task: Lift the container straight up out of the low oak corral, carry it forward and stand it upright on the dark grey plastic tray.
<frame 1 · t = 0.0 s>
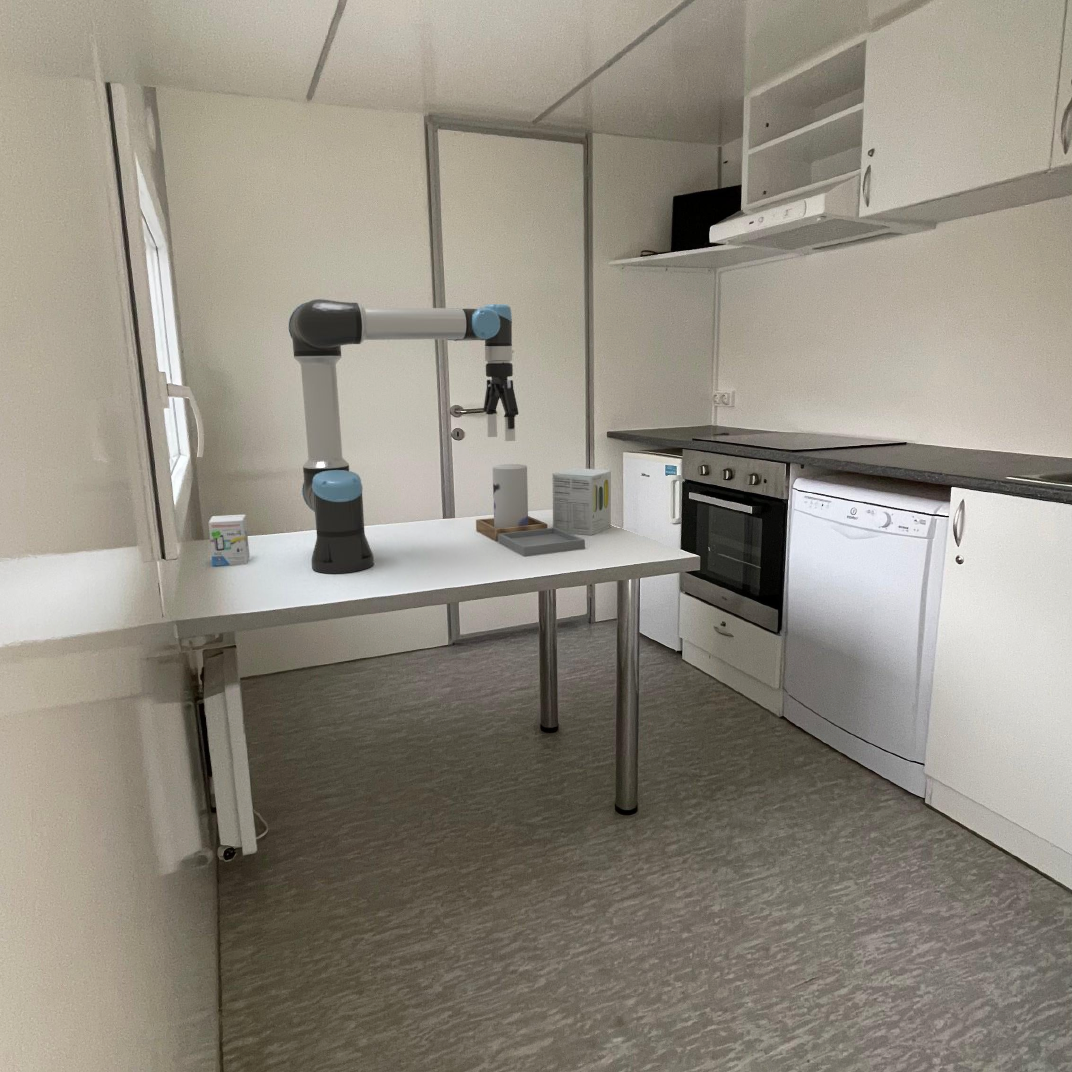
hand: (501, 438, 221), 28 cm above the table, fingers open, 13 cm apart
container: (511, 534, 229), resting in corral
corral: (511, 533, 229), on the table
tray: (540, 545, 214), on the table
ink box: (231, 562, 202), on the table
supplement box: (582, 530, 233), on the table
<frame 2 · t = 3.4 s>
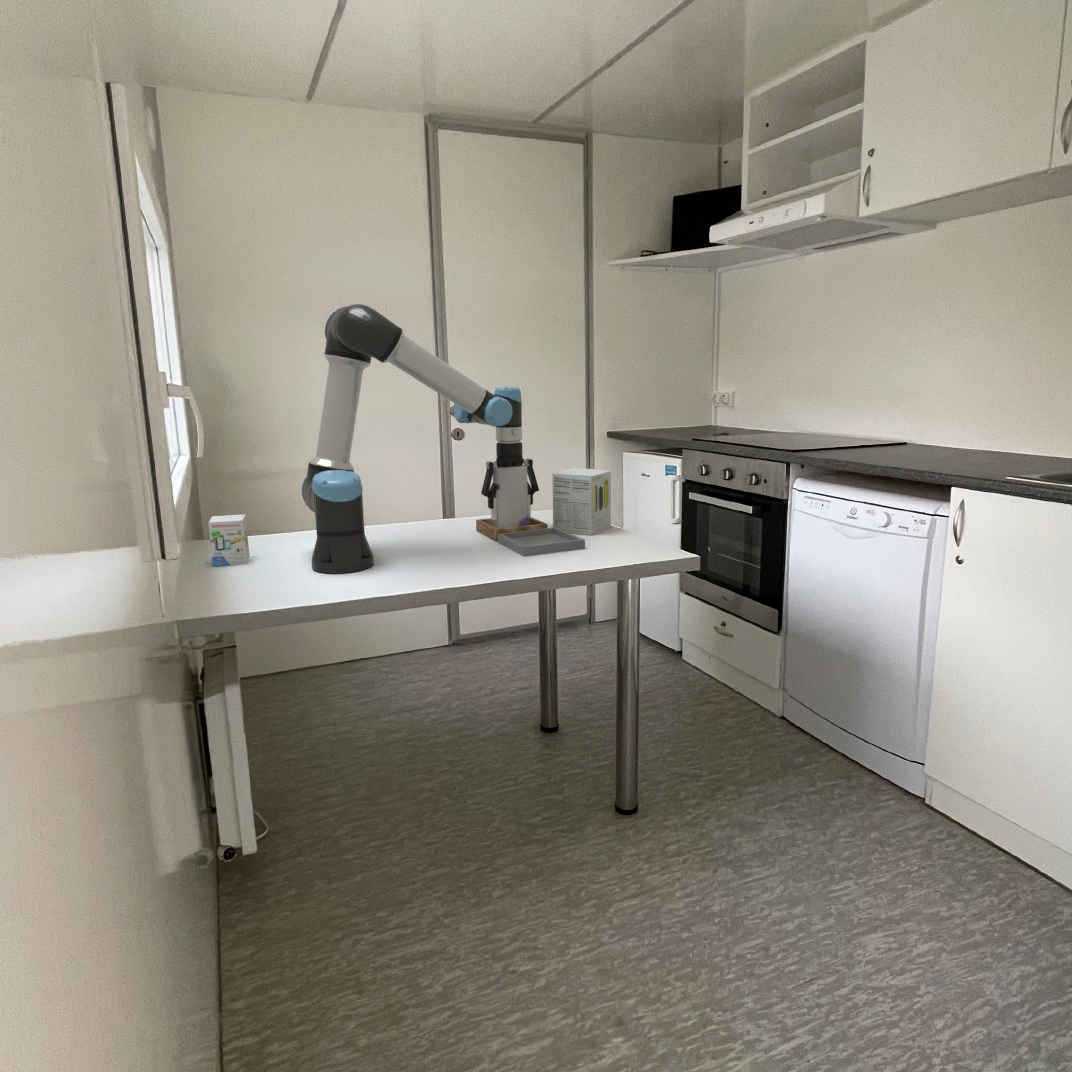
hand: (511, 517, 228), 5 cm above the table, fingers closed on container, 10 cm apart
container: (511, 534, 229), resting in corral, touching gripper
everything else where it was.
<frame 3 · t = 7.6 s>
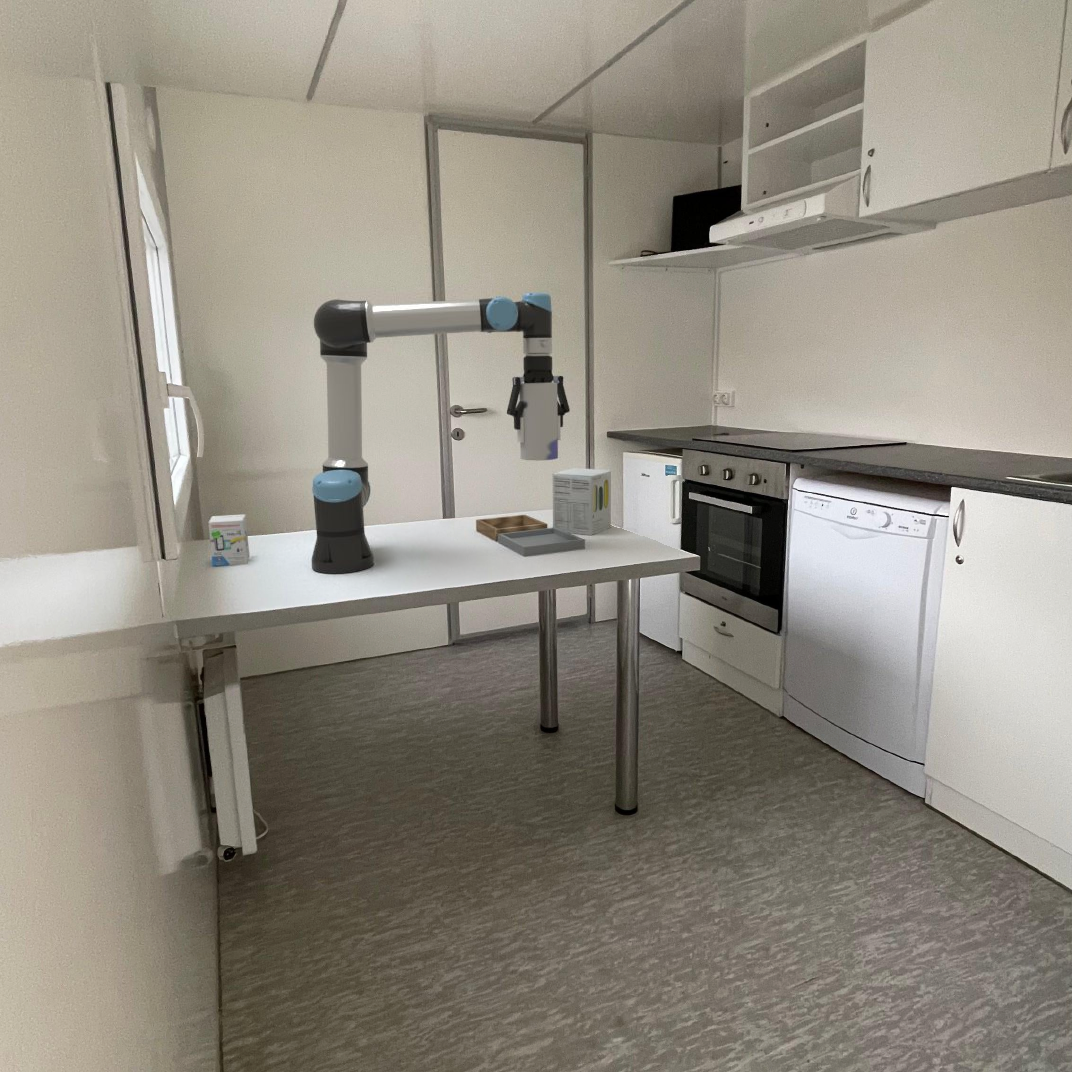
hand: (539, 440, 207), 29 cm above the table, fingers closed on container, 10 cm apart
container: (539, 459, 208), point 24 cm above the table, touching gripper
everything else where it was.
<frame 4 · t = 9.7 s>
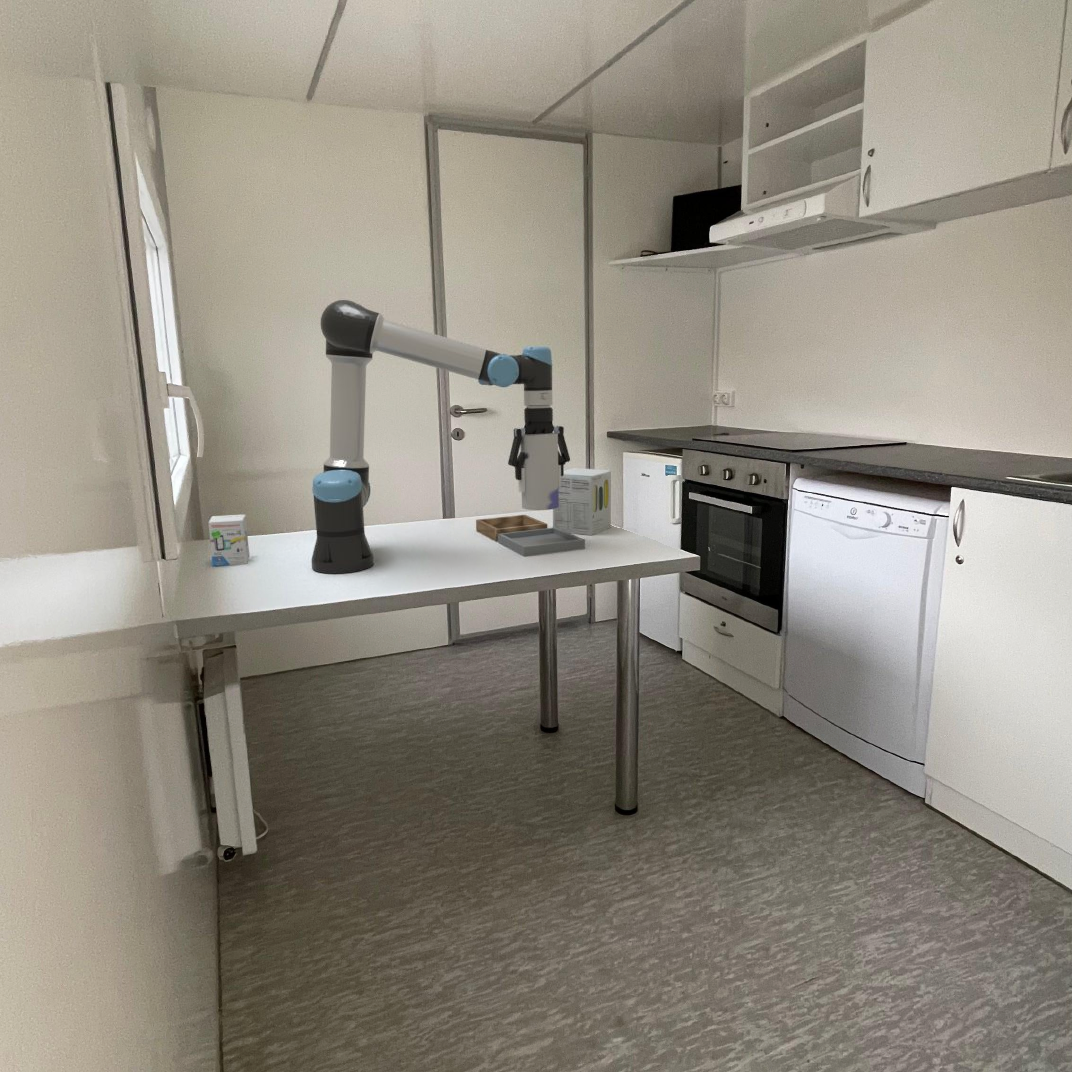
hand: (540, 490, 210), 15 cm above the table, fingers closed on container, 10 cm apart
container: (540, 508, 211), point 10 cm above the table, touching gripper
everything else where it was.
when the fingers open (8 cm above the table, at t = 11.9 s): container drops 2 cm, resting on tray.
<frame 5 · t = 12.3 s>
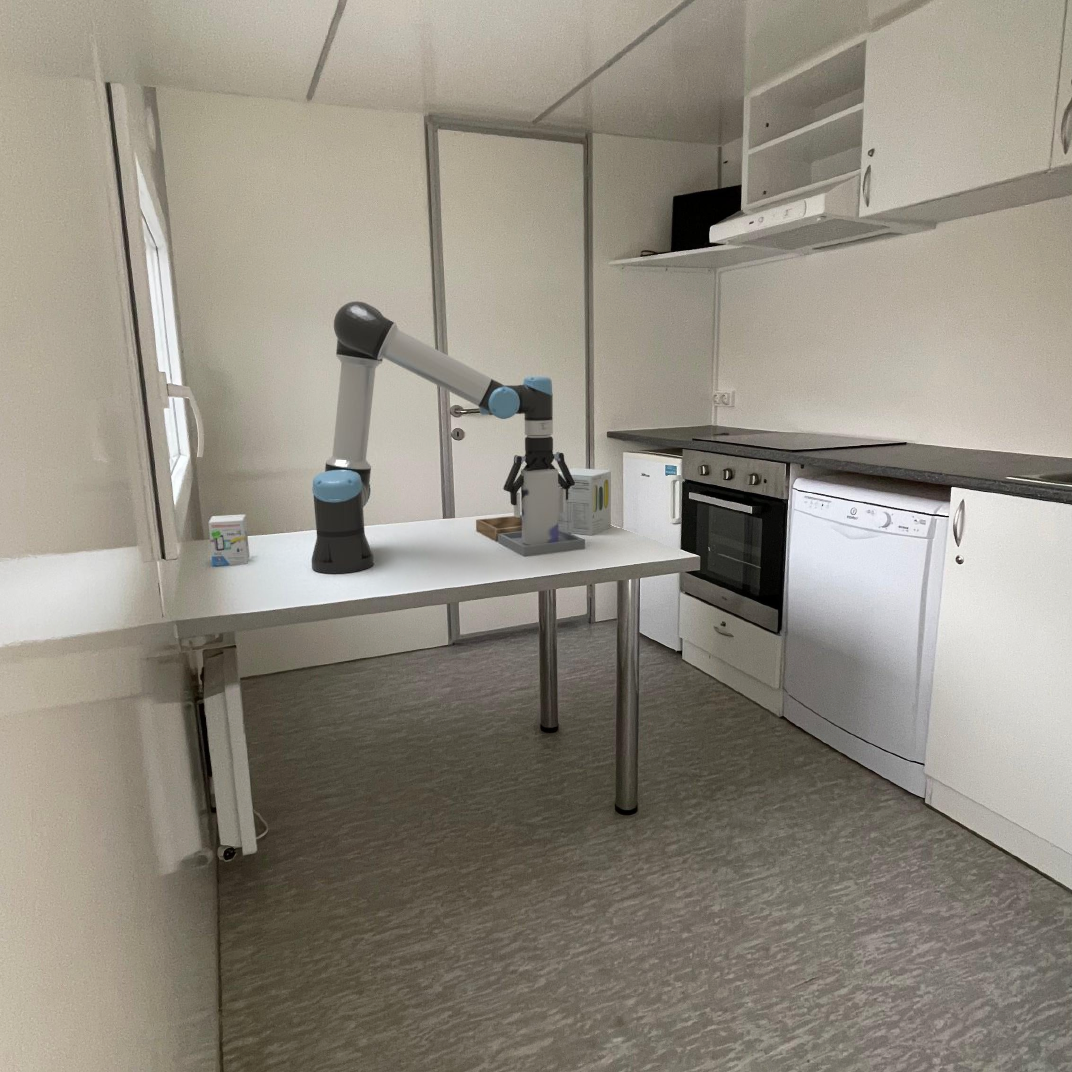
hand: (540, 514, 212), 9 cm above the table, fingers open, 13 cm apart
container: (540, 542, 213), point 1 cm above the table, touching tray
everything else where it was.
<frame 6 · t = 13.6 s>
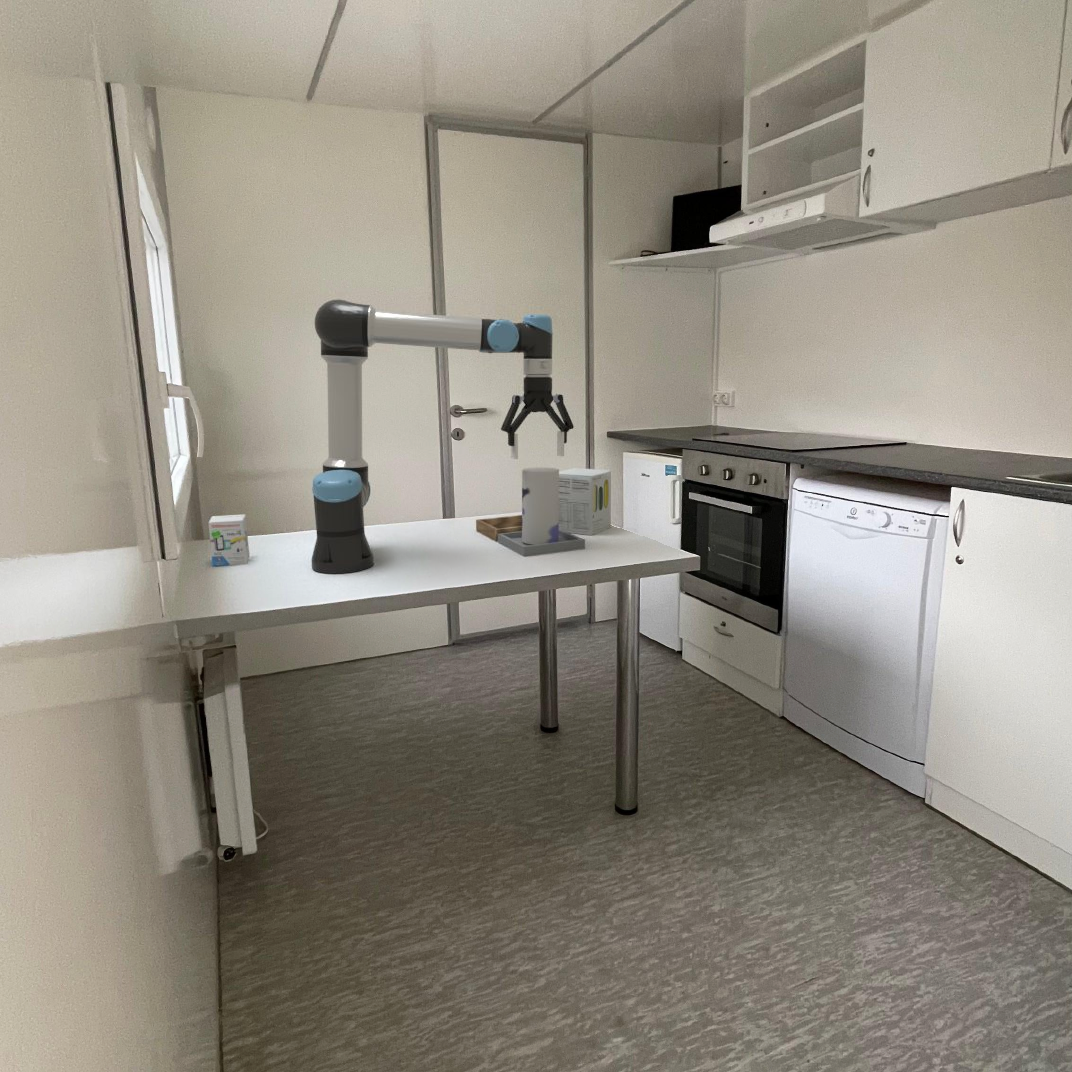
hand: (537, 457, 208), 24 cm above the table, fingers open, 13 cm apart
nothing on the table moved.
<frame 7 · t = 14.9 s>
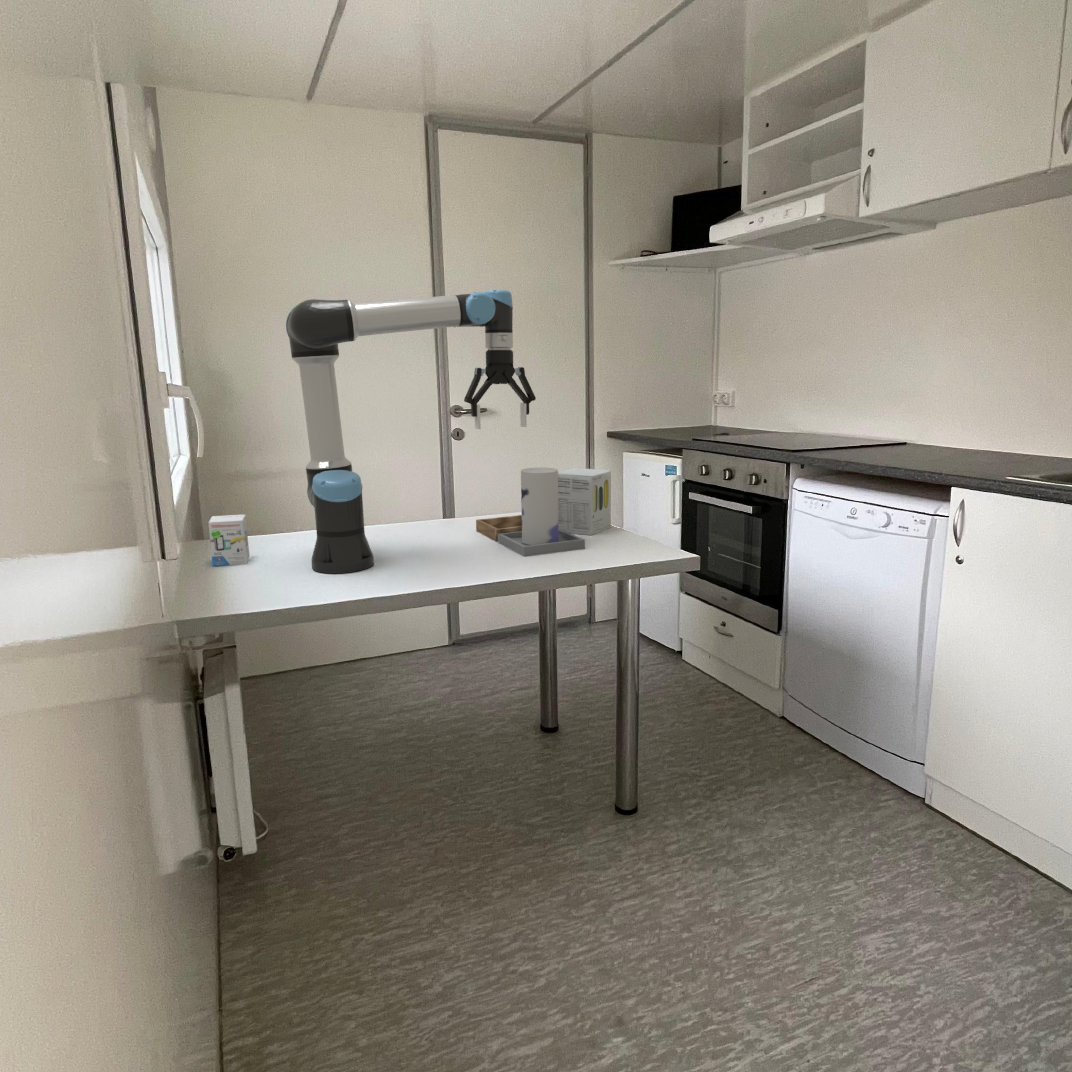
hand: (500, 427, 217), 31 cm above the table, fingers open, 13 cm apart
nothing on the table moved.
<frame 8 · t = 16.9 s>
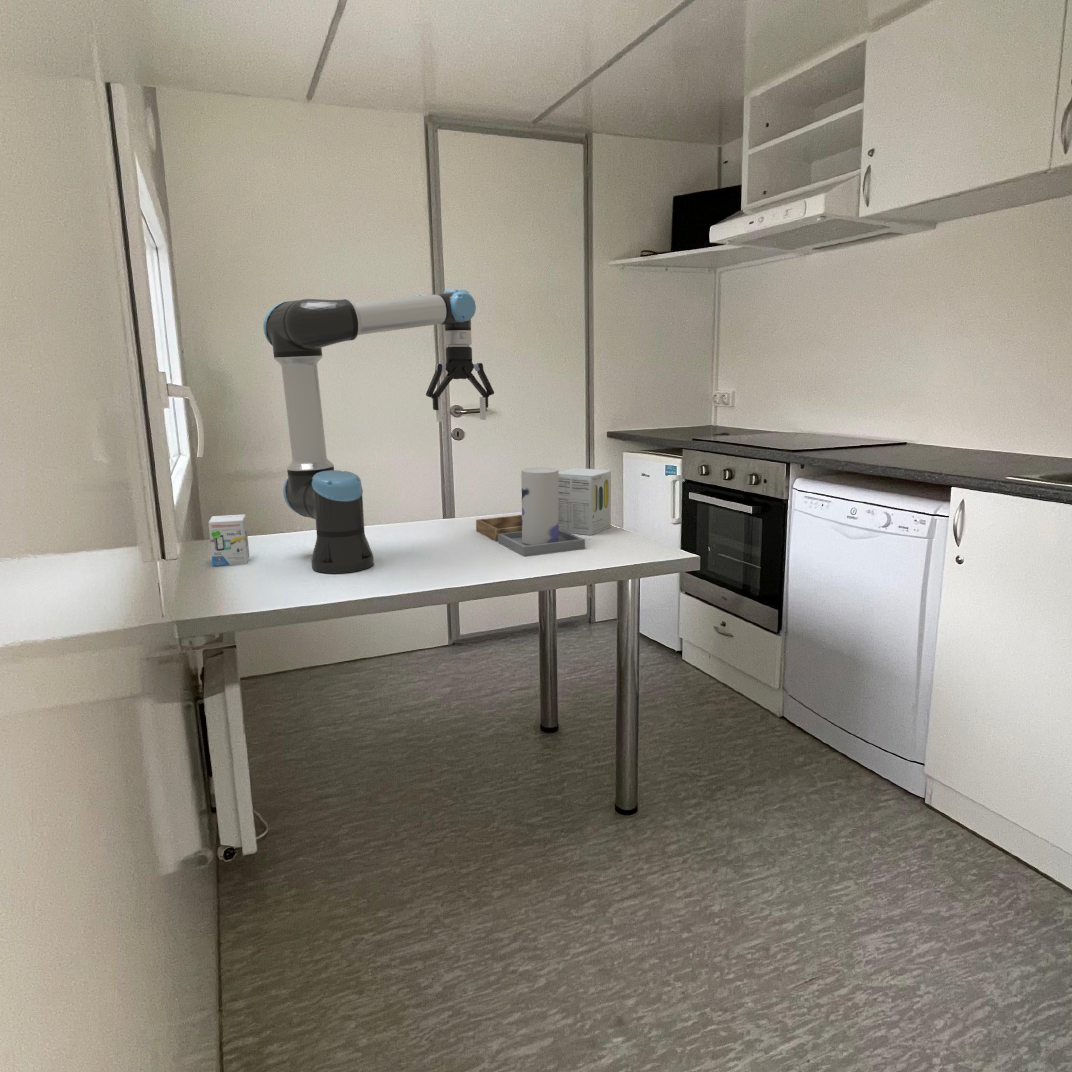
hand: (461, 420, 228), 33 cm above the table, fingers open, 13 cm apart
nothing on the table moved.
at the end: container inside the target area on the tray (0.1 cm from its centre), point 0.8 cm above the tray's base; container tilted 0°; container touching tray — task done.
